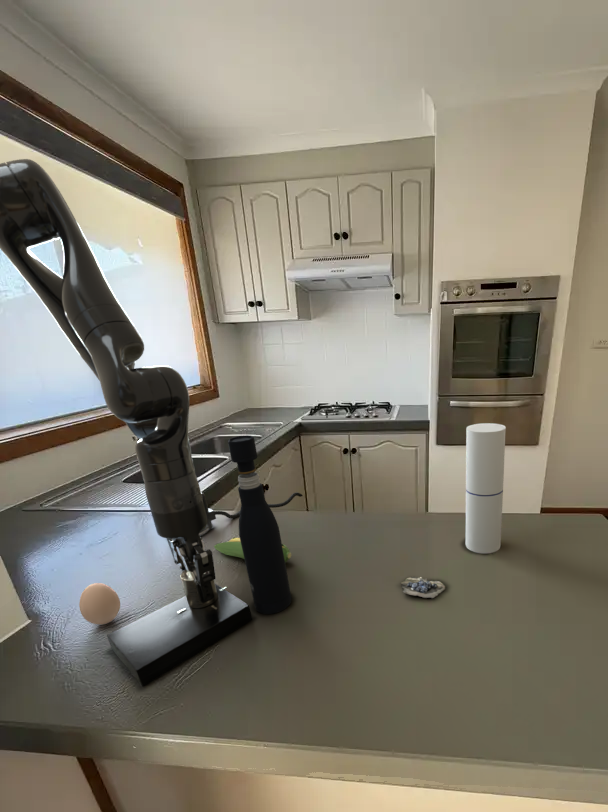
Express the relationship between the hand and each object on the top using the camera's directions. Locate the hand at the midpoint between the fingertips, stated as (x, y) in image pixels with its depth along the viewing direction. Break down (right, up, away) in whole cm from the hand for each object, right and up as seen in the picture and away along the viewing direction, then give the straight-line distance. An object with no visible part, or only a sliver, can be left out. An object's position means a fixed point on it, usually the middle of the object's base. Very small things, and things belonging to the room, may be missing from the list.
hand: (200, 593), depth 72 cm
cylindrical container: (+52, +6, +17) cm, 55 cm away
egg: (-17, -6, +2) cm, 18 cm away
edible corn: (+4, +3, +19) cm, 19 cm away
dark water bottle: (+12, -3, +3) cm, 12 cm away
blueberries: (+38, 0, +4) cm, 39 cm away
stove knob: (0, -1, +1) cm, 1 cm away
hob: (-1, -6, -3) cm, 7 cm away
